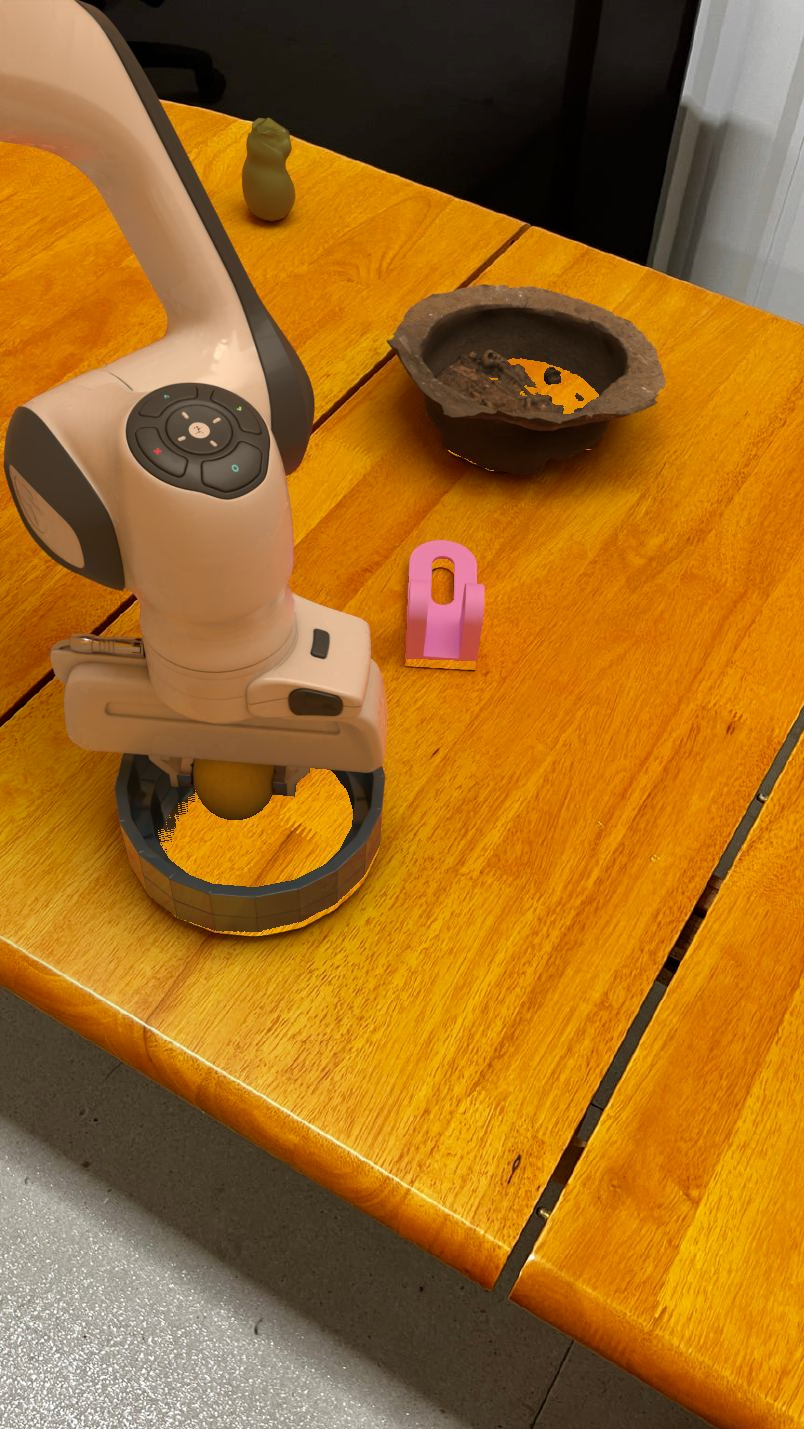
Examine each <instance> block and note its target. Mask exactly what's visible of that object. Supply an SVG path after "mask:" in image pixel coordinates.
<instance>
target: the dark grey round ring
mask: <svg viewBox="0 0 804 1429" xmlns="http://www.w3.org/2000/svg"><path fill="white" fill-rule="evenodd" d="M331 771H332V772H333V773H334V774H335V775H336V777H337V778H338V780H339V781H340V783H341V784H342V785H343V786H344V788H346V790H347V792H348V795H349V798H350V802H351V805H352V809H353V820H352V827H351V829H350V831H349V833H348V834H347V836H346V838H345V840H344V842H343V844H342V846H341V848H340V850H339V851H338V852H337V853H336V854H335V855H334V856H333V857H332V858H331V859H330V860H329V861H328V862H327V863H326V864H324V865H323V866H321V867H319V868H317V869H315V870H313V871H311V872H309V873H307V874H305V875H303V876H301V877H299V878H297V879H295V880H291V881H285V882H280V883H275V884H270V885H264V886H259V887H246V886H234V885H222V884H212V883H210V882H207V881H204V880H202V879H199V878H196V877H194V876H191V875H189V874H188V873H186V872H185V871H184V870H183V869H181V868H180V867H179V866H177V865H176V864H175V863H174V862H172V861H171V860H170V859H169V858H168V856H167V854H166V853H165V851H164V850H163V848H162V846H163V845H162V846H161V845H160V842H165V841H169V840H164V841H161V839H159V838H161V837H159V836H161V835H164V834H161V833H164V832H161V831H164V830H165V832H171V831H174V830H171V829H175V828H176V823H175V822H176V819H175V817H174V816H175V814H176V815H182V814H186V813H182V812H186V811H182V810H186V809H182V808H185V807H182V806H185V805H182V804H185V803H188V801H192V800H195V799H192V800H188V799H191V798H195V797H191V796H195V795H193V794H195V792H196V791H195V786H194V788H186V787H172V786H171V782H170V776H169V774H167V773H166V772H164V771H163V770H162V769H161V768H159V767H158V766H157V765H156V764H154V763H153V762H152V761H151V760H149V756H148V755H142V754H129V753H122V756H121V760H120V764H119V768H118V772H117V776H116V780H115V782H114V790H113V791H114V795H115V796H114V797H115V802H116V809H117V816H118V822H119V823H118V824H119V826H120V831H121V835H122V838H123V842H124V848H125V850H126V854H127V858H128V864H129V866H130V867H131V869H132V871H133V872H134V874H135V876H136V878H137V879H138V881H139V882H140V884H141V886H142V888H143V890H144V891H145V893H146V895H148V897H149V898H151V899H152V898H153V899H154V900H153V899H152V900H153V901H154V902H156V901H157V902H158V903H159V904H158V903H157V902H156V903H157V904H158V905H159V906H161V905H162V906H163V907H164V908H165V909H164V908H163V907H162V906H161V907H162V908H163V909H164V910H166V909H167V910H168V911H169V912H171V913H172V914H173V915H175V916H176V917H178V918H179V919H182V920H186V921H187V922H192V923H194V924H197V925H200V926H202V927H205V928H209V929H211V930H214V931H215V930H216V931H222V932H224V931H233V932H237V931H239V932H244V931H245V932H262V931H263V930H267V929H269V930H270V929H272V928H276V927H280V926H284V925H290V924H293V923H297V922H298V923H299V922H302V921H304V920H306V919H308V918H309V917H311V916H313V915H315V914H316V913H318V912H321V911H323V910H325V909H328V908H329V907H331V906H333V905H335V904H336V903H338V901H339V900H340V899H342V897H343V896H345V895H346V894H347V893H348V892H349V891H350V889H352V888H353V887H354V886H355V885H356V884H357V883H358V882H359V881H360V880H361V879H362V878H363V877H364V875H365V874H366V872H367V870H368V868H369V866H370V864H371V862H372V860H373V858H374V856H375V854H376V852H377V850H378V848H379V846H380V847H381V841H382V830H383V819H384V818H383V817H384V804H385V803H384V802H385V789H386V773H385V770H384V767H383V765H382V766H381V767H379V768H378V769H376V770H374V771H372V772H370V773H362V772H352V771H340V770H331ZM188 797H191V798H188ZM198 799H199V798H198ZM182 802H185V803H182ZM192 802H195V801H192ZM178 803H179V804H178ZM178 805H180V806H178ZM186 805H188V804H186ZM178 807H180V808H178ZM186 807H188V806H186ZM178 809H181V810H178ZM187 809H188V808H187ZM178 811H181V812H178ZM187 812H188V810H187ZM179 813H182V814H179ZM169 815H170V816H169ZM169 817H171V818H169ZM176 817H179V816H176ZM382 818H383V819H382ZM177 819H179V818H177ZM178 821H179V820H178ZM166 822H167V823H166ZM166 824H167V825H166ZM174 827H175V828H174ZM167 828H168V829H167ZM161 829H164V830H161ZM381 829H382V830H381ZM158 830H159V831H158ZM167 830H170V831H167ZM158 832H160V833H158ZM171 833H174V832H171ZM171 833H170V834H171ZM158 834H161V835H158ZM166 834H168V833H166ZM173 835H174V834H173ZM168 836H171V835H167V836H165V837H168ZM162 837H164V836H162ZM168 838H172V837H168ZM163 839H165V838H163ZM170 840H172V839H170ZM380 840H381V841H380ZM171 842H172V841H171ZM161 844H162V843H161ZM165 850H167V849H165ZM166 852H167V851H166ZM167 910H166V911H167ZM168 911H167V912H168ZM169 912H168V913H169ZM171 913H170V914H171ZM172 914H171V915H172ZM173 915H172V916H173ZM176 917H175V918H176ZM179 919H178V920H179ZM187 922H186V923H187Z"/></svg>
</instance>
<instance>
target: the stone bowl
mask: <svg viewBox="0 0 804 1429" xmlns="http://www.w3.org/2000/svg"><path fill="white" fill-rule="evenodd" d="M392 335H393V338H392V339H386V340H385V342H386V343H387V344H388V346H389V347H390V349H391V350H392V351H393V353H395V355H396V356H397V358H398V360H399V362H400V363H401V364H402V367H403V368H404V370H405V372H406V373H407V374H408V376H409V377H410V378H411V379H412V381H413V383H414V384H415V385H416V387H417V388H418V389H419V391H420V392H421V393H423V399H424V403H425V410H426V414H427V416H428V418H429V420H430V422H432V424H433V425H434V428H436V430H438V433H440V436H441V439H442V446H443V448H444V447H445V448H446V449H447V450H450V451H451V452H453V453H455V454H457V455H459V456H461V457H463V458H466V459H468V460H469V461H472V462H473V463H476V464H477V465H476V466H478V465H479V466H480V468H481V467H483V468H487V469H489V470H494V471H496V472H502V471H503V472H505V473H509V474H513V475H521V476H525V475H530V474H536V473H539V472H541V471H542V469H543V468H544V466H545V464H546V463H547V462H548V461H549V460H556V461H567V460H569V459H570V458H572V457H573V456H576V455H579V454H581V453H582V452H583V451H586V450H585V449H593V450H595V449H596V448H597V447H598V446H600V444H601V442H602V441H603V438H604V436H605V434H606V433H607V430H608V428H609V426H610V424H611V421H612V420H615V419H622V418H624V417H627V416H630V415H633V414H637V413H639V412H641V411H644V410H646V409H649V408H651V407H653V406H655V405H657V404H658V403H659V402H658V401H657V400H656V399H657V398H658V397H660V394H658V393H659V392H660V391H661V390H663V389H665V387H666V378H665V375H664V371H663V370H664V369H663V368H662V364H661V363H660V361H659V357H658V349H657V348H656V347H655V346H654V345H653V343H652V342H651V341H650V340H649V339H647V337H646V335H645V334H644V333H643V331H641V330H640V329H638V328H637V326H636V324H634V323H633V322H632V321H631V320H628V319H626V318H623V317H621V316H618V315H615V314H614V313H613V312H612V311H610V310H608V309H606V308H604V307H602V306H599V305H597V304H594V303H590V302H588V301H585V300H584V299H581V298H577V297H571V296H569V295H567V294H563V293H560V292H556V291H552V290H549V289H545V288H540V287H536V286H530V285H529V286H518V287H515V286H514V287H509V286H508V285H507V284H500V285H495V284H493V285H492V284H485V283H482V284H479V285H473V286H467V287H462V288H457V289H454V290H453V291H448V292H442V293H441V292H440V293H432V294H430V295H428V296H427V297H425V298H423V299H421V300H420V301H419V302H416V303H415V304H414V305H412V306H410V308H408V309H407V311H406V312H405V314H404V316H403V320H402V321H401V322H400V323H399V324H398V326H397V327H396V330H395V332H393V333H392ZM512 358H515V359H520V358H522V359H527V360H534V361H540V362H546V363H547V364H549V365H553V366H556V367H560V368H562V369H563V370H567V371H570V373H572V374H577V375H578V376H580V377H581V378H583V379H584V380H585V381H586V382H587V383H588V384H589V385H590V386H591V387H592V388H594V389H595V391H596V392H597V393H598V394H599V397H597V398H596V399H593V400H591V401H590V402H588V403H587V404H586V405H585V406H584V407H583V408H577V409H575V410H574V413H571V414H563V411H564V408H563V407H564V406H563V405H555V404H553V403H552V397H551V396H549V395H541V394H538V392H537V393H535V394H536V395H533V394H531V393H530V392H529V391H528V390H527V389H526V388H525V387H524V386H525V385H527V387H534V388H537V387H536V386H535V385H536V384H535V382H533V381H532V380H531V378H530V377H529V376H528V374H527V373H526V372H525V368H524V367H523V366H521V365H520V364H516V365H511V364H510V363H509V362H508V361H507V360H509V359H512ZM560 374H561V372H560V371H558V370H556V369H555V368H554V367H549V368H547V369H546V371H545V373H544V381H545V382H546V384H548V385H551V384H559V383H561V376H560ZM489 377H490V378H498V380H491V379H490V378H489ZM521 391H524V392H523V393H525V395H527V396H522V394H521V395H520V392H521ZM575 397H576V399H578V401H583V400H584V398H583V397H582V396H581V395H579V394H578V393H576V395H575ZM599 443H600V444H599ZM595 447H596V448H595ZM445 448H444V449H445ZM446 449H445V450H446ZM463 458H462V459H463ZM479 466H478V467H479ZM483 468H482V469H483Z"/></svg>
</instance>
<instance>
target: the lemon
mask: <svg viewBox="0 0 804 1429" xmlns="http://www.w3.org/2000/svg"><path fill="white" fill-rule="evenodd" d="M274 774H275V765H265V764H253V763H241V762H228V761H216V760H204V759H195V760H194V766H193V781H194V786H195V790H196V793H197V795H198V797H199V799H200V800H201V802H202V804H203V805H204V806H205V807H206V808H207V809H208V810H209V811H210V812H211V813H213V814H215V815H216V816H218V817H220V818H224V819H227V820H243V819H247V818H250V817H252V816H254V815H256V814H257V813H259V812H260V811H262V810H263V808H264V807H265V806H266V805H267V804H268V803H269V801H270V799H271V797H272V795H273V789H274V788H273V776H274Z"/></svg>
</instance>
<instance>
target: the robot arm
mask: <svg viewBox="0 0 804 1429" xmlns="http://www.w3.org/2000/svg"><path fill="white" fill-rule="evenodd" d="M128 44H129V43H127V41H126V40H125V39H124V37H123V36H122V34H121V33H120V31H119V29H118V28H117V26H115V24H114V23H113V22H112V21H111V20H110V19H109V17H108V16H107V15H106V14H105V13H104V12H102V11H101V10H100V9H99V8H98V7H96V6H94V5H92V4H89V3H86V2H84V1H81V0H0V143H8V144H13V145H14V144H15V145H21V146H26V147H31V148H35V149H39V150H41V151H45V152H48V153H50V154H53V155H55V156H57V157H59V158H61V159H63V160H65V161H67V162H68V163H70V164H71V165H72V166H74V167H76V169H78V170H79V171H80V172H81V173H82V174H83V175H85V177H87V178H88V179H89V181H90V182H91V183H92V184H93V186H94V187H95V188H96V189H97V191H98V192H99V194H100V196H101V197H102V199H103V200H104V202H105V204H106V206H107V207H108V209H109V211H110V213H111V215H112V217H113V219H114V221H115V222H116V223H117V226H118V228H119V230H120V231H121V232H122V234H123V237H124V238H125V241H126V242H127V243H128V245H129V247H130V249H131V250H132V252H133V255H134V257H135V258H136V259H137V262H138V263H139V265H140V267H141V269H142V270H143V272H144V275H146V277H147V280H148V282H149V283H150V285H151V288H152V289H153V291H154V292H155V294H156V296H157V298H158V299H159V302H160V303H161V305H162V307H163V309H164V311H165V314H166V320H167V321H166V329H165V332H164V334H163V336H162V337H161V338H159V339H157V340H155V341H154V342H152V343H149V344H147V345H145V346H142V347H140V348H139V349H137V350H134V351H132V352H130V353H128V354H126V355H124V356H121V357H120V358H117V359H115V360H112V361H111V362H109V363H106V364H104V365H103V366H101V367H98V368H95V369H90V370H88V371H86V372H84V373H81V374H79V375H77V376H75V377H73V378H71V379H68V380H67V381H66V380H65V381H64V382H62V383H60V384H58V385H56V386H54V387H52V388H50V389H48V390H46V391H44V392H42V393H40V394H38V395H35V397H33V398H31V399H30V400H28V401H27V402H25V403H24V404H22V405H19V406H17V407H15V409H14V411H13V413H12V415H11V417H10V419H9V422H8V425H7V429H6V432H5V436H4V437H5V438H4V447H3V470H4V475H5V479H6V483H7V486H8V489H9V492H10V495H11V498H12V500H13V503H14V506H15V509H16V511H17V513H18V515H19V517H20V519H21V521H22V524H23V526H24V527H25V529H26V531H27V532H28V534H29V536H30V537H31V538H32V540H33V541H34V542H35V543H36V545H38V547H39V548H40V549H41V550H42V551H43V552H44V553H45V554H46V555H47V556H48V557H49V558H51V560H53V561H54V562H55V563H57V564H58V565H60V566H61V567H62V568H64V569H66V570H68V571H70V572H71V573H74V574H77V575H78V576H81V577H82V578H85V579H87V580H89V581H92V582H94V583H95V584H97V585H100V586H103V587H106V588H108V589H112V590H115V591H120V592H123V591H124V590H125V589H126V590H129V591H130V592H131V593H132V595H134V597H136V599H137V601H138V603H139V612H138V613H139V614H138V621H139V627H140V632H141V637H132V636H101V635H96V634H93V633H88V632H87V633H86V632H84V633H83V632H80V633H73V634H71V636H70V638H65V639H60V640H58V641H56V642H55V643H54V644H53V645H52V646H51V647H50V651H49V658H50V663H51V666H52V670H53V673H54V676H55V677H56V678H57V679H58V681H60V682H61V683H62V684H63V685H65V689H64V698H63V700H64V701H63V703H64V704H63V705H64V708H63V710H64V719H65V727H66V732H67V736H68V739H69V740H70V741H71V742H72V743H73V744H75V745H77V746H78V747H80V748H81V749H82V750H86V751H91V752H93V751H94V752H103V753H117V754H123V753H129V754H142V755H148V756H149V760H151V761H152V762H153V763H154V764H156V765H157V766H158V767H159V768H161V769H162V770H163V771H164V772H166V773H167V774H169V776H170V782H171V786H172V787H186V788H194V781H193V766H194V760H195V759H204V760H216V761H228V762H241V763H253V764H265V765H275V774H274V776H273V788H274V789H273V795H283V796H294V797H295V792H296V785H297V783H298V782H299V781H300V780H301V779H302V778H304V777H305V776H306V775H307V774H308V773H310V768H315V769H327V770H340V771H352V772H362V773H370V772H372V771H374V770H376V769H378V768H379V767H381V766H383V765H384V764H385V760H386V759H385V758H386V750H387V737H388V720H389V719H388V718H389V717H388V716H389V715H388V703H387V701H388V700H387V693H386V688H385V682H384V677H383V674H382V671H381V669H380V667H379V666H378V664H377V663H376V661H375V660H374V659H373V658H372V638H371V628H370V627H371V626H370V625H369V623H368V622H367V621H366V620H364V618H361V617H359V616H355V615H352V614H350V613H346V612H343V611H340V610H336V609H334V608H331V607H328V606H325V605H322V604H320V603H317V602H314V601H312V600H309V599H307V598H304V597H303V596H300V595H299V594H296V593H295V592H293V591H292V589H291V587H290V584H289V582H290V579H291V577H292V573H293V570H294V563H295V541H294V540H295V538H294V526H293V513H292V504H291V496H290V490H289V485H288V484H289V483H288V480H287V477H288V476H290V475H292V474H293V473H295V472H296V471H297V470H298V468H299V467H300V465H301V464H302V462H303V460H304V458H305V455H306V452H307V450H308V446H309V444H310V439H311V435H312V432H313V427H314V421H315V420H314V419H315V406H316V405H315V404H316V403H315V401H316V400H315V393H314V388H313V385H312V382H311V378H310V376H309V374H308V372H307V370H306V367H305V365H304V364H303V361H302V360H301V358H300V356H299V355H298V353H297V351H296V350H295V348H294V346H293V345H292V343H291V342H290V341H289V339H288V338H287V337H286V334H285V333H284V332H283V331H282V329H281V327H280V326H279V325H278V323H277V321H276V320H275V319H274V317H273V315H271V313H270V311H269V310H268V309H267V307H266V305H265V304H264V302H263V301H262V299H261V297H260V296H259V294H258V291H257V290H256V288H255V287H254V285H253V283H252V280H251V279H250V277H249V275H248V273H247V271H246V269H245V267H244V265H243V263H242V261H241V259H240V257H239V255H238V253H237V251H236V249H235V247H234V245H233V242H232V241H231V239H230V237H229V235H228V232H227V230H226V229H225V227H224V225H223V222H222V221H221V219H220V217H219V215H218V213H217V211H216V209H215V207H214V205H213V203H212V201H211V199H210V197H209V195H208V193H207V191H206V189H205V186H204V185H203V183H202V181H201V179H200V176H199V175H198V173H197V171H196V169H195V166H194V165H193V163H192V161H191V159H190V157H189V154H188V153H187V151H186V149H185V147H184V145H183V143H182V141H181V139H180V137H179V136H178V133H177V131H176V129H175V127H174V125H173V123H172V122H171V119H170V118H169V116H168V114H167V112H166V110H165V108H164V106H163V104H162V102H161V100H160V98H159V96H158V94H157V93H156V90H155V89H154V87H153V86H152V84H151V82H150V80H149V78H148V77H147V75H146V73H145V71H144V70H143V68H142V66H141V64H140V63H139V61H138V59H137V58H136V56H135V54H134V53H133V51H132V48H131V47H130V46H129V45H128Z"/></svg>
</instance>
